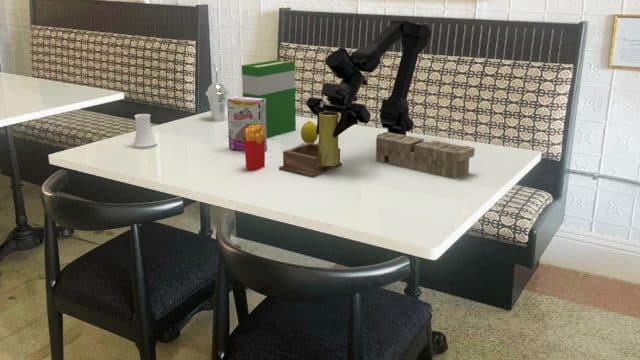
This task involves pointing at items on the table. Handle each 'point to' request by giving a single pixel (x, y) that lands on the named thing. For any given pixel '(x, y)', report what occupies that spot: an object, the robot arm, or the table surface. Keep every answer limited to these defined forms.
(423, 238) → the table surface
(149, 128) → the vase
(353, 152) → the table surface
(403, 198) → the table surface
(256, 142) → the french fries
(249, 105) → the candy bar box
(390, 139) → the block tower
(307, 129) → the lemon
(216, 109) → the cup with straw
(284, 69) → the hardback book
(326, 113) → the vase
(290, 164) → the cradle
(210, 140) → the table surface
